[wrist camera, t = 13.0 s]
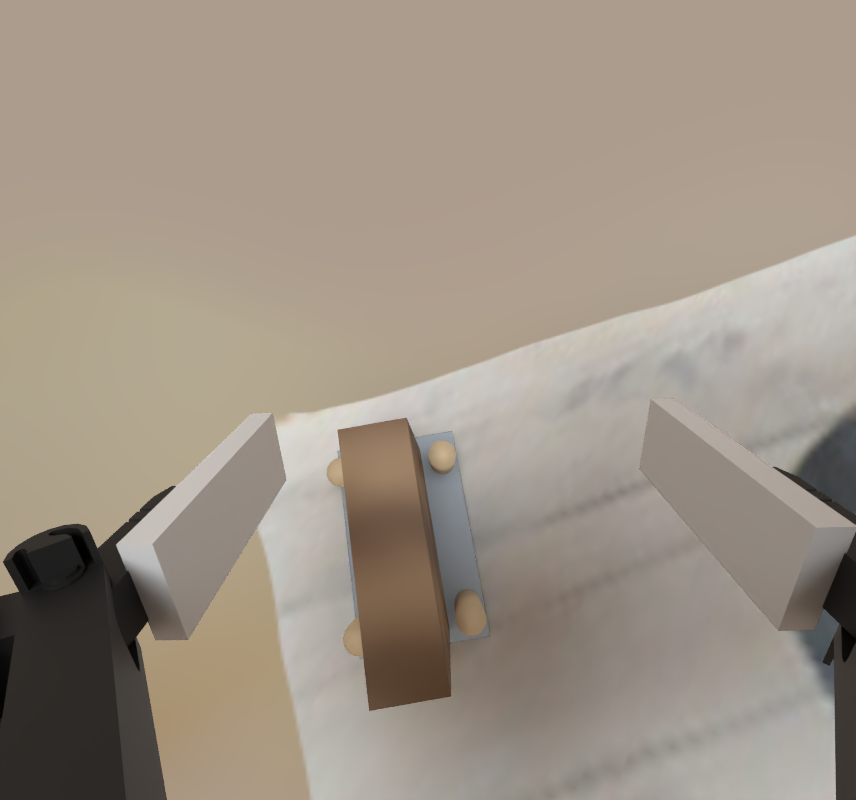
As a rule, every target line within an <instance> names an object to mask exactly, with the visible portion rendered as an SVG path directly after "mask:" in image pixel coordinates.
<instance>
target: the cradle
mask: <svg viewBox="0 0 856 800" xmlns="http://www.w3.org/2000/svg"><path fill="white" fill-rule="evenodd" d="M415 439H416V441H417V444H418V446H419V448H420V453H421V459H422V465H423V471H424V477H425V483H426V489H427V495H428V501H429V507H430V513H431V519H432V525H433V531H434V537H435V543H436V549H437V555H438V561H439V567H440V574H441V580H442V586H443V592H444V598H445V604H446V610H447V616H448V622H449V628H450V643H453V642H459V641H465V640H471V639H476V638H482V637H488V636H490V633H489V627H488V622H487V616H486V611H485V606H484V600H483V595H482V590H481V584H480V579H479V574H478V568H477V563H476V557H475V552H474V547H473V541H472V536H471V531H470V525H469V520H468V515H467V509H466V504H465V499H464V493H463V488H462V482H461V477H460V472H459V466H458V461H457V456H456V450H455V445H454V440H453V434H452V431H450V432H444V433H439V434H433V435H427V436H421V437H416V438H415ZM327 477H328V479H329V481H330V482H331V483H332V484H334V485H337V486H341V488H342V497H343V507H344V516H345V525H346V534H347V544H348V553H349V562H350V571H351V581H352V590H353V599H354V608H355V618H356V619H355V620H354V621H353V622H352V623H351V624H350V625H349V627H348V628H347V629H346V631H345V633H344V638H343V641H344V646H345V648H346V650H347V651H348V652H349V653H350V654H352V655H354V656H360V659H362V658H363V650H362V641H361V632H360V623H359V614H358V605H357V596H356V588H355V579H354V570H353V561H352V552H351V543H350V534H349V525H348V516H347V508H346V499H345V490H344V481H343V472H342V463H341V454H340V451H338V459H335V460H334V461H332V462H331V463H330V464H329V466H328V468H327Z"/></svg>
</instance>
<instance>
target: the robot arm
mask: <svg viewBox="0 0 856 800" xmlns="http://www.w3.org/2000/svg"><path fill="white" fill-rule="evenodd" d="M639 469H640V470H641V471H642V473H643V474H644V475H645V476H646V477H647V478H648V480H649V481H650V482H651V483H652V484H653V485H654V487H655V488H656V489H657V490H658V491H659V492H660V494H661V495H662V496H663V497H664V498H665V499H666V501H667V502H668V503H669V504H670V505H671V506H672V508H673V509H674V510H675V511H676V512H677V513H678V515H679V516H680V517H681V518H682V519H683V520H684V522H685V523H686V524H687V525H688V526H689V527H690V529H691V530H692V531H693V532H694V533H695V534H696V536H697V537H698V538H699V539H700V540H701V541H702V543H703V544H704V545H705V546H706V547H707V548H708V549H709V551H710V552H711V553H712V554H713V555H714V556H715V558H716V559H717V560H718V561H719V562H720V563H721V565H722V566H723V567H724V568H725V569H726V570H727V572H728V573H729V574H730V575H731V576H732V577H733V579H734V580H735V581H736V582H737V583H738V584H739V586H740V587H741V588H742V589H743V590H744V591H745V593H746V594H747V595H748V596H749V597H750V598H751V600H752V601H753V602H754V603H755V604H756V605H757V607H758V608H759V609H760V610H761V611H762V612H763V614H764V615H765V616H766V617H767V618H768V619H769V621H770V622H771V623H772V624H773V625H774V626H775V628H776V629H777V630H778V631H788V630H815V628H816V625H817V623H818V621H819V618H820V616H821V614H822V611H823V609H825V610H826V611H827V612H828V613H829V614H830V615H831V616H832V617H833V618H834V619H835V620H836V621H837V622H838V623H839V626H838V629H837V631H836V633H835V635H834V638H833V640H832V642H831V644H830V647H829V649H828V651H827V653H826V655H825V658H824V660H823V663H825V664H827V665H829V666H830V664H831V662H832V660H833V659H834V687H835V754H836V800H856V516H855V515H854V514H852V513H851V512H849V511H848V510H847V509H845V508H844V507H842V506H841V505H839V504H838V503H836V502H832V501H831V499H830V498H829V497H827V496H826V495H824V494H823V493H821V492H817V491H816V489H815V488H814V487H812V486H811V485H809V484H808V483H806V482H805V481H804V480H802V479H801V478H799V477H797V476H795V475H793V474H790V473H788V472H786V471H783V470H781V469H779V468H777V467H772V466H770V465H769V464H767V463H766V462H764V461H763V460H762V459H760V458H759V457H757V456H756V455H754V454H753V453H751V452H750V451H749V450H747V449H746V448H744V447H743V446H741V445H740V444H739V443H737V442H736V441H734V440H733V439H731V438H730V437H729V436H727V435H726V434H724V433H723V432H721V431H720V430H718V429H717V428H716V427H714V426H713V425H711V424H710V423H708V422H707V421H706V420H704V419H703V418H701V417H700V416H698V415H697V414H696V413H694V412H693V411H691V410H690V409H688V408H687V407H685V406H684V405H683V404H681V403H680V402H678V401H677V400H675V399H674V398H670V399H651V402H650V408H649V414H648V420H647V426H646V432H645V438H644V444H643V450H642V456H641V462H640V468H639ZM285 481H286V475H285V471H284V466H283V461H282V456H281V451H280V446H279V442H278V437H277V432H276V427H275V422H274V417H273V413H259V414H251V415H249V416H248V417H247V419H245V420H244V421H243V422H242V423H241V424H240V425H239V426H238V427H237V428H236V429H235V430H234V431H233V432H232V433H231V434H230V435H229V436H228V437H227V438H226V439H225V440H224V441H223V442H222V443H221V444H220V445H219V446H218V447H216V449H214V450H213V451H212V452H211V453H210V454H209V455H208V456H207V457H206V458H205V459H204V460H203V461H202V462H201V463H200V464H199V465H198V466H197V467H196V468H195V469H194V470H193V471H192V472H191V473H190V474H189V475H188V476H187V477H186V478H185V479H183V480H182V481H181V482H180V483H179V484H178V485H177V486H171V487H169V488H168V489H166V490H164V491H163V492H161V493H159V494H158V495H156V496H154V497H153V498H152V499H151V500H150V501H148V502H147V503H146V504H145V505H144V506H143V507H142V508H141V509H140V512H137V513H135V514H134V515H133V516H132V517H131V518H130V519H129V522H126V523H125V524H124V525H123V526H122V527H120V528H119V529H118V530H117V531H116V532H115V533H114V534H113V535H112V536H111V537H110V538H109V539H108V540H107V541H105V542H104V543H103V544H102V545H101V546H100V547H99V548H98V549H97V547H96V545H95V542H94V540H93V537H92V535H91V533H90V531H89V529H88V528H87V526H85V525H81V524H71V525H63V526H60V527H56V528H53V529H49V530H47V531H44V532H42V533H39V534H37V535H35V536H33V537H31V538H29V539H27V540H26V541H24V542H23V543H21V544H19V545H18V546H16V547H15V548H14V549H13V550H12V551H10V553H8V554H7V556H6V558H5V560H4V561H3V563H4V565H5V567H6V568H7V570H8V572H9V574H10V576H11V577H12V579H13V581H14V583H15V585H16V586H17V588H18V590H19V592H16V593H12V594H8V595H4V596H0V800H167V798H166V792H165V787H164V780H163V775H162V769H161V763H160V757H159V751H158V745H157V740H156V734H155V728H154V723H153V716H152V710H151V704H150V698H149V693H148V687H147V681H146V675H145V669H144V663H143V658H142V652H141V647H140V645H139V643H138V640H137V638H136V637H137V635H138V634H139V632H140V631H141V630H142V629H143V627H144V626H145V625H146V623H147V622H148V623H149V626H150V628H151V631H152V633H153V635H154V638H155V640H188V639H189V637H190V636H191V634H192V633H193V631H194V629H195V628H196V626H197V624H198V623H199V621H200V620H201V618H202V616H203V614H204V613H205V611H206V610H207V608H208V606H209V605H210V603H211V602H212V600H213V598H214V597H215V595H216V593H217V592H218V590H219V589H220V587H221V585H222V584H223V582H224V580H225V579H226V577H227V576H228V574H229V572H230V571H231V569H232V567H233V566H234V564H235V562H236V561H237V559H238V558H239V556H240V554H241V553H242V551H243V549H244V548H245V546H246V545H247V543H248V541H249V540H250V538H251V536H252V535H253V533H254V532H255V530H256V528H257V527H258V525H259V523H260V522H261V520H262V519H263V517H264V515H265V514H266V512H267V510H268V509H269V507H270V505H271V504H272V502H273V501H274V499H275V497H276V496H277V494H278V492H279V491H280V489H281V488H282V486H283V484H284V483H285Z"/></svg>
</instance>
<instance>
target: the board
mask: <svg viewBox="0 0 856 800" xmlns="http://www.w3.org/2000/svg"><path fill="white" fill-rule="evenodd" d="M338 437H339V445H340V454H341V463H342V472H343V481H344V490H345V499H346V508H347V516H348V525H349V534H350V543H351V552H352V561H353V570H354V579H355V588H356V596H357V605H358V614H359V623H360V632H361V641H362V650H363V659H364V667H365V676H366V685H367V694H368V703H369V711H371V710H377V709H382V708H388V707H394V706H399V705H405V704H411V703H416V702H422V701H427V700H433V699H439V698H444V697H450V696H451V669H450V628H449V622H448V616H447V610H446V604H445V598H444V592H443V586H442V580H441V574H440V567H439V561H438V555H437V549H436V543H435V537H434V531H433V525H432V519H431V513H430V507H429V501H428V495H427V489H426V483H425V477H424V471H423V465H422V459H421V453H420V448H419V446H418V444H417V441H416V439H415V437H414V434H413V432H412V430H411V427H410V425H409V423H408V420H407V418H402V419H397V420H391V421H385V422H380V423H374V424H368V425H363V426H357V427H351V428H346V429H340V430H338Z"/></svg>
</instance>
